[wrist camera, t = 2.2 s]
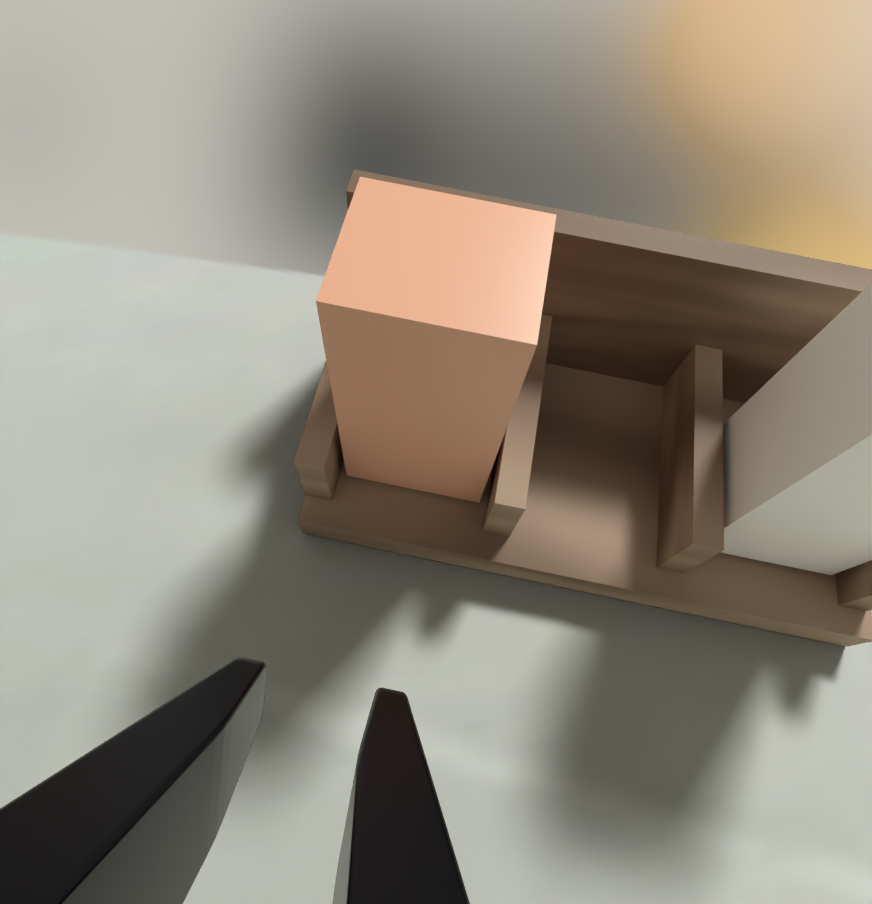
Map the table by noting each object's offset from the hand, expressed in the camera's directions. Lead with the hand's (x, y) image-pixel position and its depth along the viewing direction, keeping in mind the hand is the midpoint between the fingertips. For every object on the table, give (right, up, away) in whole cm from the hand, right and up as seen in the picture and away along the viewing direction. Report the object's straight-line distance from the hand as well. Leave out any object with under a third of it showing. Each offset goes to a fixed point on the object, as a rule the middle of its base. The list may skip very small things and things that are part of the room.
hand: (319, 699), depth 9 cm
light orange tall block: (+1, +4, +15) cm, 16 cm away
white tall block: (+14, +1, +15) cm, 20 cm away
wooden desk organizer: (+8, +3, +17) cm, 19 cm away
